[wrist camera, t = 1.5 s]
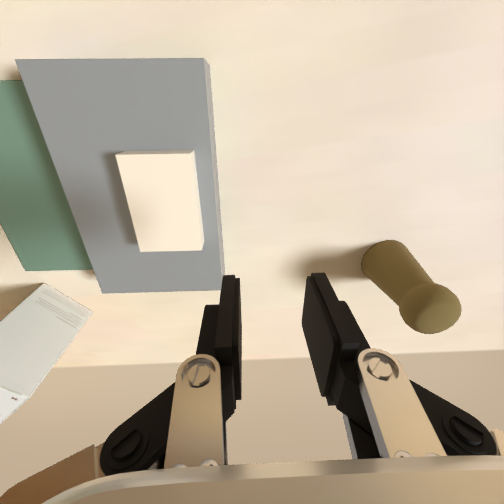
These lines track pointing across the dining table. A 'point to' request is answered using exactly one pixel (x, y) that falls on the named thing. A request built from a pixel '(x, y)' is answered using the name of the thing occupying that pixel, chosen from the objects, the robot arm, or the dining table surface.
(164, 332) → the dining table surface
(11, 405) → the supplement box
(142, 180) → the card
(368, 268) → the cork
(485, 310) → the dining table surface
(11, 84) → the mat
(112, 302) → the dining table surface
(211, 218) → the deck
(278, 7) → the dining table surface
